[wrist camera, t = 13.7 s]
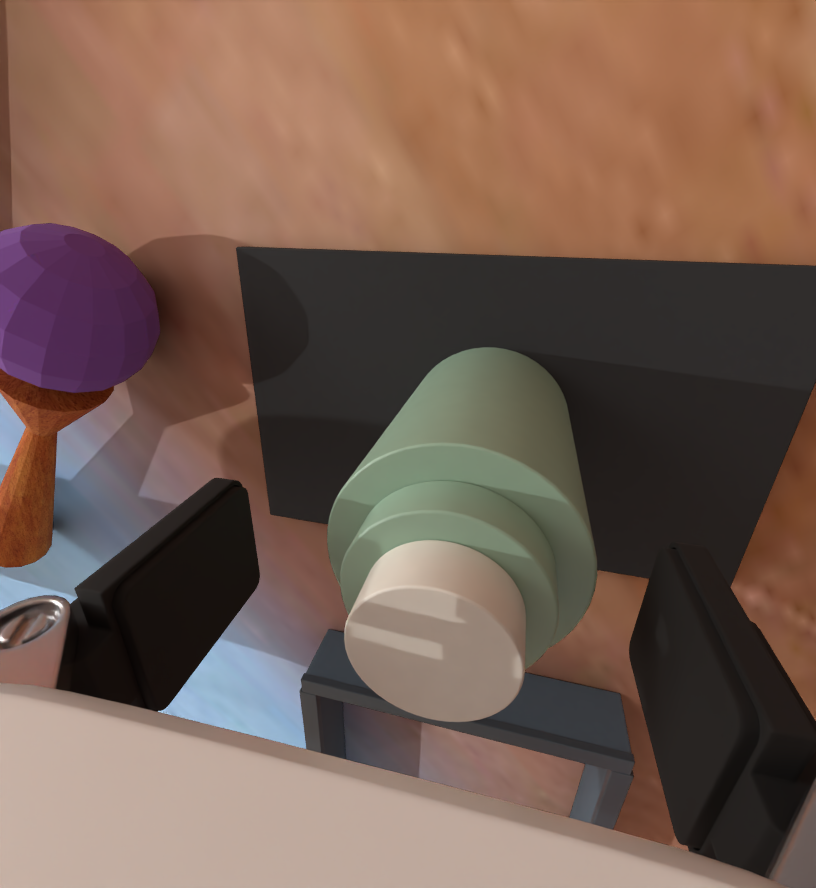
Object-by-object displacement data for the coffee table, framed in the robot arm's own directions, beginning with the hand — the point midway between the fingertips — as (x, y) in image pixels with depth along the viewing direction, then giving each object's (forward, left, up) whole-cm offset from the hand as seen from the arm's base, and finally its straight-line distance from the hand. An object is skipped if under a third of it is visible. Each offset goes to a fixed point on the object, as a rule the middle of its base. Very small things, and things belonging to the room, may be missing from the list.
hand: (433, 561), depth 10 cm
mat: (+1, 0, -9) cm, 9 cm away
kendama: (-19, -2, -9) cm, 22 cm away
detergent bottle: (0, 0, -8) cm, 8 cm away
